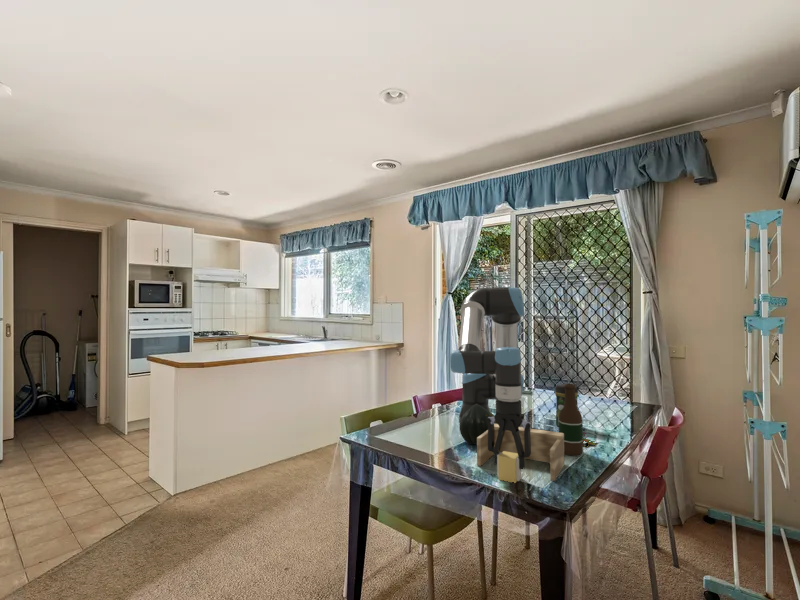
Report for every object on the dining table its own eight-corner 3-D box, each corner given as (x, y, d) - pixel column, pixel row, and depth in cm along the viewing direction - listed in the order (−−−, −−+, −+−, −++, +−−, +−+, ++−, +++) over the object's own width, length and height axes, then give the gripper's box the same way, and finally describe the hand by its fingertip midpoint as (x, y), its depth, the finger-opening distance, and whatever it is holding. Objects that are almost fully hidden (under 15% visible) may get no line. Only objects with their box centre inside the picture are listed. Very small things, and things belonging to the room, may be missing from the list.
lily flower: (588, 451, 149) (588, 438, 149) (558, 443, 159) (558, 431, 159) (605, 445, 156) (605, 432, 157) (576, 437, 166) (575, 425, 166)
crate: (477, 465, 134) (476, 434, 135) (493, 451, 148) (492, 423, 148) (554, 480, 122) (554, 446, 122) (564, 463, 136) (563, 433, 136)
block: (498, 479, 123) (498, 455, 123) (503, 474, 127) (503, 451, 128) (515, 483, 121) (515, 458, 121) (520, 477, 125) (519, 453, 125)
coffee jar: (565, 422, 186) (565, 381, 187) (582, 426, 180) (581, 383, 180) (552, 426, 181) (551, 383, 182) (568, 430, 174) (567, 386, 175)
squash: (490, 438, 146) (496, 400, 155) (450, 433, 153) (459, 398, 163) (499, 456, 155) (505, 419, 164) (462, 451, 162) (469, 416, 171)
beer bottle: (571, 457, 142) (570, 387, 142) (554, 450, 149) (553, 383, 150) (588, 454, 145) (586, 385, 146) (570, 447, 152) (569, 382, 153)
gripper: (475, 398, 126) (476, 475, 125) (536, 404, 117) (537, 488, 116) (483, 394, 133) (484, 467, 132) (542, 400, 123) (543, 479, 122)
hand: (509, 477), depth 124 cm, fingers closed on block, 5 cm apart
